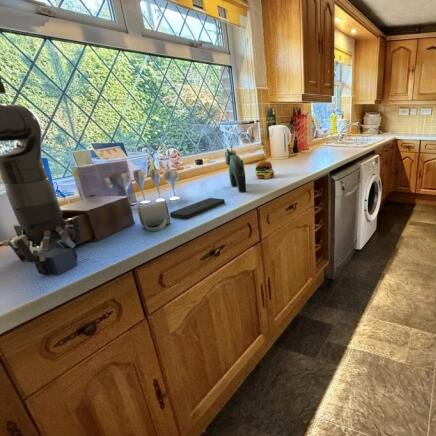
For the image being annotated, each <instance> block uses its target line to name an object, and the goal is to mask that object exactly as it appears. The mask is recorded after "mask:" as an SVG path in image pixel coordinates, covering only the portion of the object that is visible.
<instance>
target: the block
mask: <svg viewBox="0 0 436 436" xmlns="http://www.w3.org/2000/svg"><path fill="white" fill-rule="evenodd" d="M45 260H47V261H48V263H49V266H50V268H51V271H52V274H51V275H52V276H60V275H62V274H64V273H66V272H68V271H70V270H72V269H74V268H75V267H78V262H77V261H76V259H75V257H74V254H73V251H72V249H67V248H55V249H52V250H50V251H48V252H46V257H45Z"/></svg>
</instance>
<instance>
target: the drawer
mask: <svg viewBox="0 0 436 436" xmlns="http://www.w3.org/2000/svg"><path fill="white" fill-rule="evenodd" d="M62 214H63V216H62V219H63V220H66V219H77V220H78V224H79V231H80V238H81V241H80V242H77V243H76V244H75V246H77V245H79V244H82V243H84V242H87V241H86V240H88V239H91V238H93V237H94V236H93V233H92V230H91V227H90V224H89V221H88V218H87V215H86V213H63V212H62ZM12 226H13V228H14V229H13V230H14V231H15V233H16V236H17V237H19V236H21V235H22V227H21V226H20V225H19V223H17V224H14V225H12ZM64 232H65V233H66V234H67V231H66V227H65V229H64ZM8 240H9V239H8ZM8 240H7V239H5V240H3V241H2V243H1V244H2V246H3V247H10V245H9V244H8ZM27 243H28V244H27V247H28V248H29V249H30V241H29V240H27ZM40 246H41V245H38V247H40ZM55 248H64V247H62V246H61V245H60V244H59V243H58V242H56V241H54V242H52V243H51V244H49V245H48V250H47V251H46V252H48V251H50V250H52V249H55ZM30 251H31V250H30Z"/></svg>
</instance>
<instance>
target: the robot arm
mask: <svg viewBox="0 0 436 436" xmlns="http://www.w3.org/2000/svg"><path fill="white" fill-rule="evenodd" d="M12 141H13V142H14V145H13V149H12V150H10V151H8V152H6V153H1V154H0V178H1V181H2V182H3V185H4V188H5V194H6V197H7V199H8V202H9V204H10V206H11V208H12V211H13V215H14V216H15V218H16V221H17V224H19V225H20V226H21V227H22V235H21V236H19V237H18V236H17V237H15V238H10V239H8V244H9V245H10V246H9V247H10V248H11V249H12V251H13V252H14V254H15V255H16V257H17V258H18V259H19V260H20V262H22V263H31V264H34V265H35V268H36V270H37V273H38V274H39V275H41V276H50V275H52V271H51V268H50V266H49V263H48V261H47V260H45V257H46V251H47V250H48V245H49V244H51V243H52V242H54V241H56V242H58V243H59V244H60V245H61V246H62V247H64V248H67V249H72V251H73V254H74V257H75V259H76V262H77V261H78V253H77V250H76V248H75V246H76V245H75V244H76V243H77V242H80V241H81V238H80V231H79V224H78V220H77V219H66V220H63V219H62V216H63V214H62V211H61V208H60V207H61V206H60V203H59V201H58V197H57V195H56V192H55V188H54V186H53V185H52V183H51V181H50V179H49V177H48V174H47V171H46V169H45V166H44V162H43V159H42V127H41V123H40V120H39V118H38V116H37V115H36V113H34V111H32V110H31V108H28V107H26V106H24V105H21V104H0V143H3V142H12ZM65 227H66V231H67V234H66V233H65V232H64V229H65ZM27 240H29V241H30V249H29V248H28V247H27V244H28V243H27ZM38 245H41V246H40V247H38ZM30 250H31V251H30Z"/></svg>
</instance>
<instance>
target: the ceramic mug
mask: <svg viewBox="0 0 436 436" xmlns="http://www.w3.org/2000/svg"><path fill="white" fill-rule="evenodd" d="M137 208H138V209H137V213H138V218H139V221H140V225H142V226H143V227H144V228H145V229H146V230H147V231H148V232H158V231H161V230H163V229H164V228H165V227H166V225H168V224H171V222H172V221H171V216H170V212H169V208H168V204H167V202H166V200H164V201H155V202H150V203H145V204H143V205H139V207H137Z"/></svg>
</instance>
